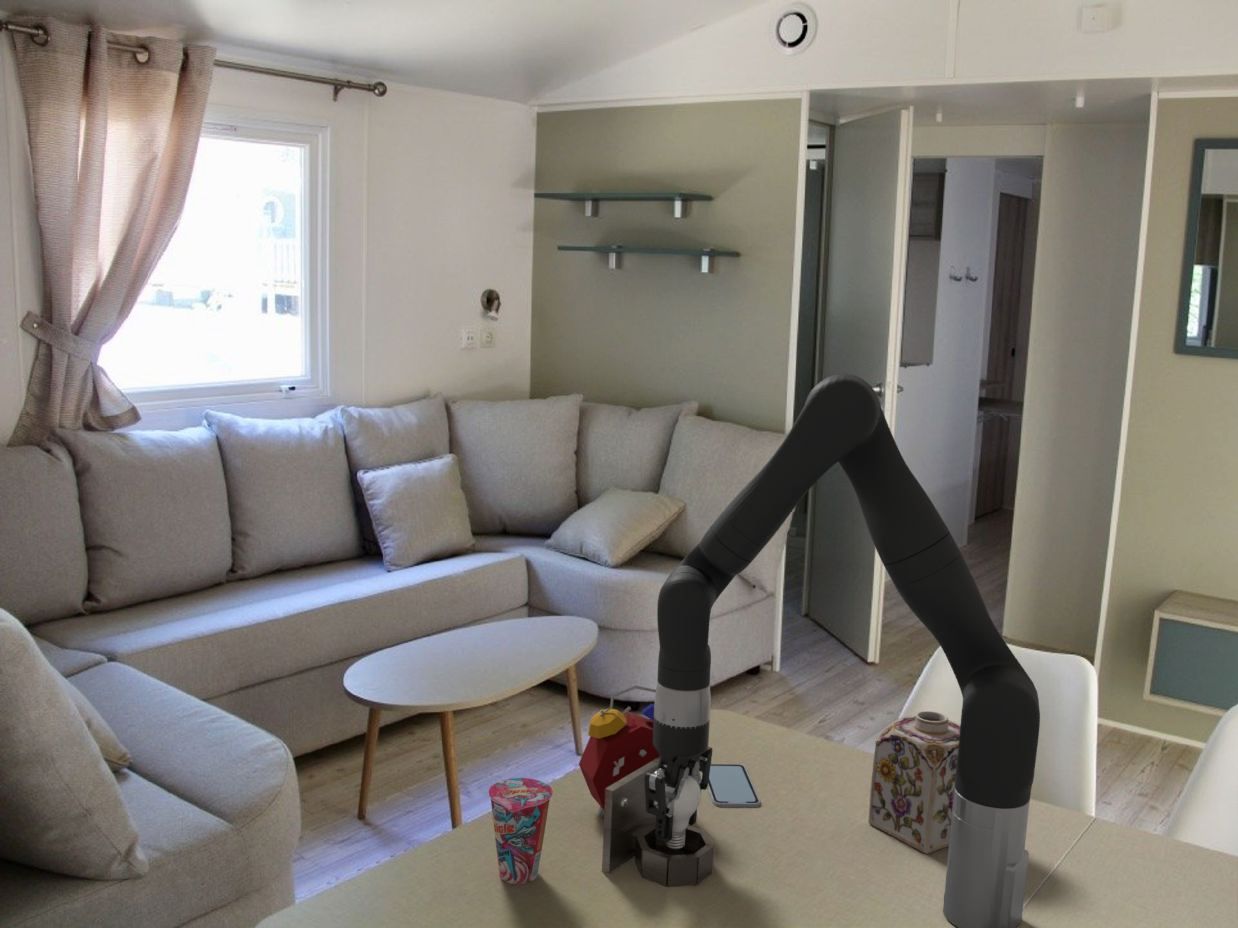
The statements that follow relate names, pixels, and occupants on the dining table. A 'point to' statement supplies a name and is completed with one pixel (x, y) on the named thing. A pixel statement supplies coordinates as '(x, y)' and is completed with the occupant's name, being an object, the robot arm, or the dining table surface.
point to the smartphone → (731, 786)
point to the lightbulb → (683, 811)
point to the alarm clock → (617, 747)
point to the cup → (519, 826)
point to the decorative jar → (915, 780)
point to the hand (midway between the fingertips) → (676, 830)
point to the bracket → (649, 837)
